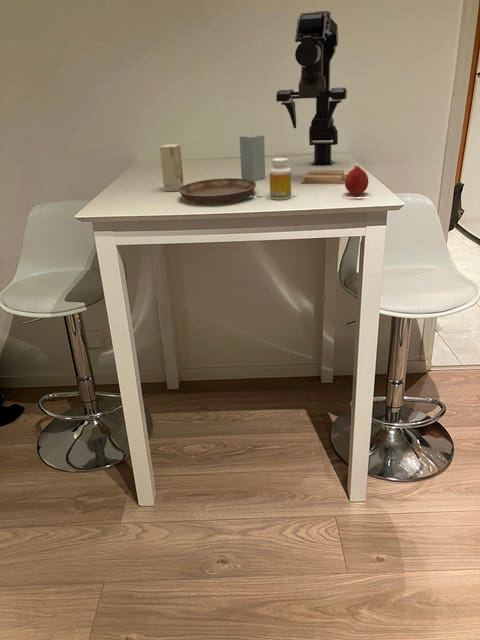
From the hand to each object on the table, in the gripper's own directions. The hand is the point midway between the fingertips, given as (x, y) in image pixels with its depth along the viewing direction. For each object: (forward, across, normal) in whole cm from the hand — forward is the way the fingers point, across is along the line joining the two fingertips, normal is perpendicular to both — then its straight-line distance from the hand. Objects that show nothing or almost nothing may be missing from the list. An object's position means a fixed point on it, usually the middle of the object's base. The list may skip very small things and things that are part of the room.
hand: (311, 128), depth 147 cm
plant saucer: (+15, -22, -22) cm, 34 cm away
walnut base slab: (+15, +4, -2) cm, 16 cm away
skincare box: (+15, -38, -13) cm, 43 cm away
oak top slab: (+14, +4, -2) cm, 15 cm away
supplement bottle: (+15, -5, -22) cm, 27 cm away
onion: (+15, +14, -20) cm, 28 cm away
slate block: (+15, -17, -2) cm, 22 cm away
